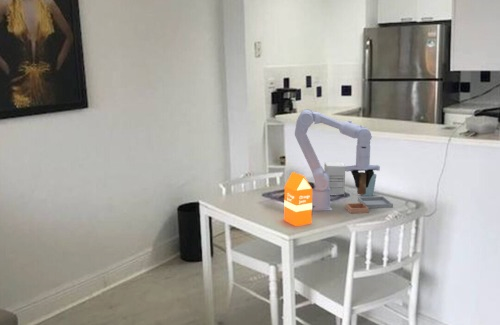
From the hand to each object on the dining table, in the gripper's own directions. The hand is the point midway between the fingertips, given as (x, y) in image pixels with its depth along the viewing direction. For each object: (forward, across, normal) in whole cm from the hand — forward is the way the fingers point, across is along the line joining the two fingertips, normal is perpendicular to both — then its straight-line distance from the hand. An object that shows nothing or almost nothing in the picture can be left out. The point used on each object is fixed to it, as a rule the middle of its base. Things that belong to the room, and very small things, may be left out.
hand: (361, 187), depth 224 cm
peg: (+3, 0, 0) cm, 3 cm away
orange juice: (+11, -30, -12) cm, 34 cm away
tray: (+10, +8, +6) cm, 15 cm away
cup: (+11, +10, +22) cm, 27 cm away
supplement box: (+11, -5, +27) cm, 30 cm away
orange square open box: (+10, -2, -2) cm, 11 cm away
